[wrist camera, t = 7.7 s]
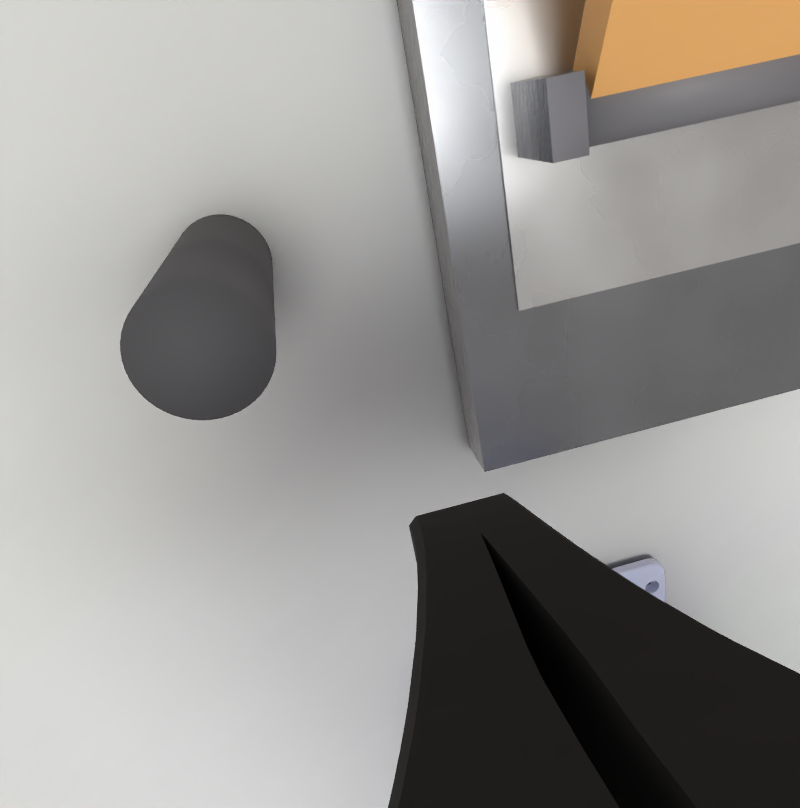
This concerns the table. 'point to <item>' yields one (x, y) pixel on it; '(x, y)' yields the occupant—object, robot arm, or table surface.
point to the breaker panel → (595, 239)
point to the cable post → (205, 323)
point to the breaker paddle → (684, 62)
